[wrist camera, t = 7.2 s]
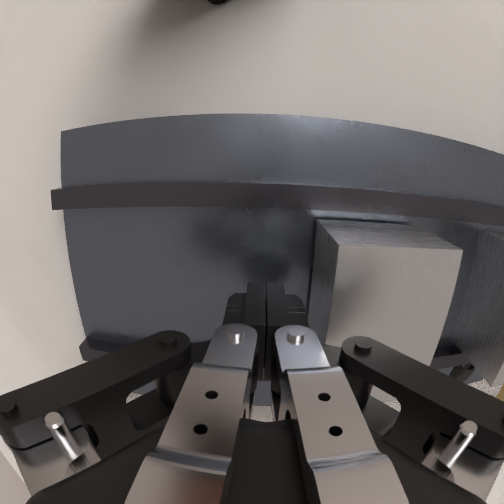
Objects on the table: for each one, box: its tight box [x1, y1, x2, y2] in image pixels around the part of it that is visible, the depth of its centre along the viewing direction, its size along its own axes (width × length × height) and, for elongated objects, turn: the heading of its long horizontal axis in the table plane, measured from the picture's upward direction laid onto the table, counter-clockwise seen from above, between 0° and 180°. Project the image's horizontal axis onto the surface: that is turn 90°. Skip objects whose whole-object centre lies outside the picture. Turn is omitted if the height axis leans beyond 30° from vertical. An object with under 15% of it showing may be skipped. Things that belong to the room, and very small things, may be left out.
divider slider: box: [307, 219, 463, 402], centre depth 12 cm, size 5×10×4 cm, turn 179°
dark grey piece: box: [51, 114, 504, 406], centre depth 13 cm, size 28×16×6 cm, turn 89°
